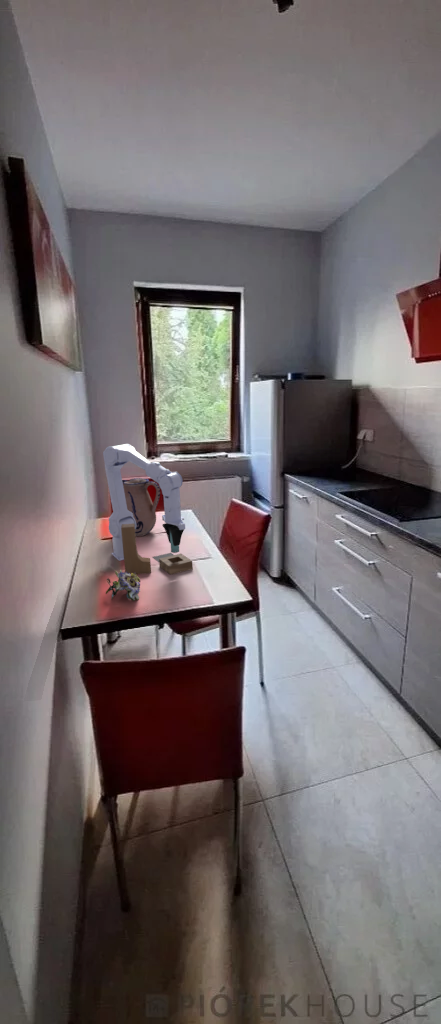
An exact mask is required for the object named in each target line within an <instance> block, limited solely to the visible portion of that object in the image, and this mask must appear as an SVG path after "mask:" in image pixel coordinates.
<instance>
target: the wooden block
mask: <svg viewBox="0 0 441 1024" xmlns="http://www.w3.org/2000/svg"><path fill="white" fill-rule="evenodd" d="M121 533H122V543H123V554H124V560H123V563H124V572H125V573H126V572H127V573H130V574H131V573H133V574H134V572H135V573H136V575H142V574H143V575H144V574H151V573H152V566H151V565H152V563H151V558H150V557H145V556H144V557H143V556H142V555H140V554H139V552H138V549H137V538H136V537H137V536H135V524H122V526H121Z"/></svg>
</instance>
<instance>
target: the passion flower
mask: <svg viewBox="0 0 441 1024" xmlns="http://www.w3.org/2000/svg"><path fill="white" fill-rule="evenodd" d="M114 573H115V575H116V577H117V580H113V581H111V579H110V578H109V577H108V578H107V579H106V582H107V584H108V585H109V587H108V589H107V590H106V591H105V594H106V595H107V594H109V592H111V593H112V594H111V600H113V599H114V597H115V596H116V595H117V593H118V592H119V591H121V592H122V591H126V593H127V594H126V599H128V600H131V601H133V602H135V601H138V600H140V597H139V593H140V592H141V578H140V577H139V576H138V574H136V573H135V572H134V574H133V573H131V574H130V573H127V572H126V573H125V571H124V572H123V571H122V569H120V570H119V572H118V571H117V570H114ZM111 582H112V584H111ZM114 589H115V590H114Z"/></svg>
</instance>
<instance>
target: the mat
mask: <svg viewBox="0 0 441 1024" xmlns="http://www.w3.org/2000/svg"><path fill="white" fill-rule="evenodd" d="M173 555H174V553H172V552H167V553H164V554H159V555H156V556H152V559H154V560H155V561H157V562H158V563H159V559H160V558H164V557H168V556H173Z"/></svg>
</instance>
